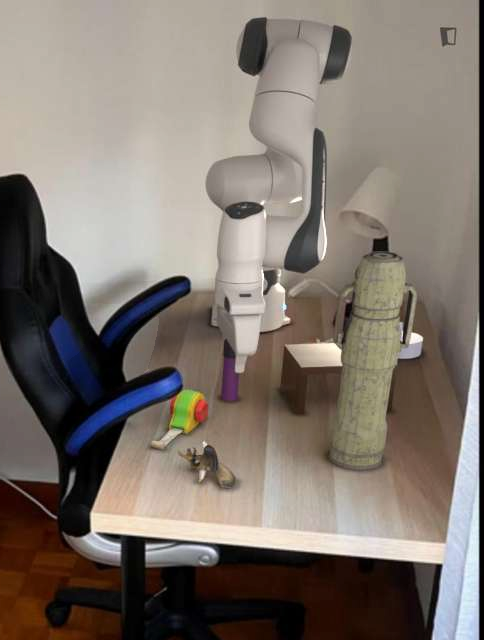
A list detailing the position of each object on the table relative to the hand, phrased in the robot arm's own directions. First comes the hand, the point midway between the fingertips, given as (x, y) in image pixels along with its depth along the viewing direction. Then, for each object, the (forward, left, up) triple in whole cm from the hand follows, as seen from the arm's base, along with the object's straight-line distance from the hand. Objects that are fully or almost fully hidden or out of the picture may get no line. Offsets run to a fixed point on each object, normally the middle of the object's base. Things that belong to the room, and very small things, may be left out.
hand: (233, 363), depth 189 cm
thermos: (+29, +16, -8) cm, 34 cm away
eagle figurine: (+35, -10, -8) cm, 37 cm away
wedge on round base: (-25, +40, -8) cm, 48 cm away
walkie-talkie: (-19, +28, -8) cm, 35 cm away
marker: (0, 0, -8) cm, 8 cm away
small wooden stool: (+2, +20, -8) cm, 21 cm away
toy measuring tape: (+15, -12, -8) cm, 21 cm away
